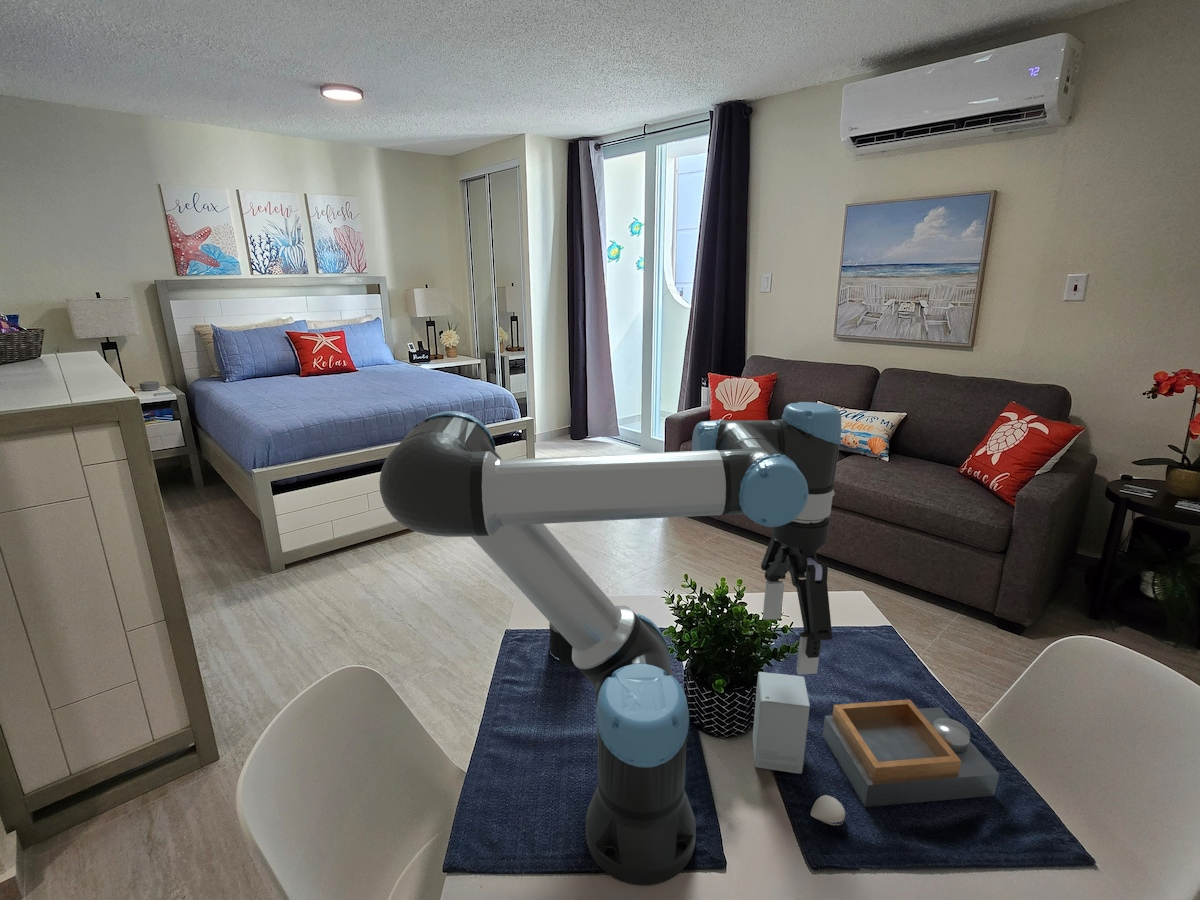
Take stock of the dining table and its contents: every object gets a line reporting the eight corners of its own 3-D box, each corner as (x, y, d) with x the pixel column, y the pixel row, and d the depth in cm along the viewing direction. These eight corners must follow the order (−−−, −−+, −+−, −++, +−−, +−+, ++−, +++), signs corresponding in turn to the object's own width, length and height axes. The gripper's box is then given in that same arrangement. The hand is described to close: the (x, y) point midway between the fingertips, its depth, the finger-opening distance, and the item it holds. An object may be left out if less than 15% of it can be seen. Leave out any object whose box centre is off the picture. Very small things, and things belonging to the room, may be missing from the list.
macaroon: (850, 826, 86) (852, 812, 85) (818, 835, 85) (820, 821, 84) (831, 801, 90) (833, 788, 89) (801, 809, 89) (802, 795, 88)
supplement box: (803, 775, 95) (811, 707, 91) (753, 768, 96) (759, 700, 92) (798, 740, 101) (805, 675, 98) (752, 733, 103) (757, 669, 99)
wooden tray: (864, 807, 89) (870, 771, 87) (822, 735, 102) (826, 703, 100) (994, 795, 91) (1002, 760, 89) (936, 726, 104) (942, 694, 102)
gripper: (873, 552, 75) (851, 698, 81) (793, 481, 98) (781, 598, 105) (814, 555, 74) (796, 701, 80) (747, 483, 98) (738, 600, 104)
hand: (787, 643), depth 93 cm, fingers open, 13 cm apart
